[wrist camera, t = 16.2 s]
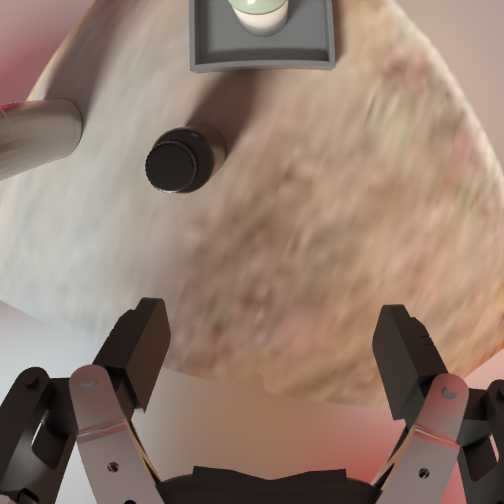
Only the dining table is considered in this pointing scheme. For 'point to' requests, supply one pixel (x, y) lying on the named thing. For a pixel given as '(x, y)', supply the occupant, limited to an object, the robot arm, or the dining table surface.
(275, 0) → the green capped canister
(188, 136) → the supplement bottle
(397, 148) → the dining table surface
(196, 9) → the tray
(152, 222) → the dining table surface
